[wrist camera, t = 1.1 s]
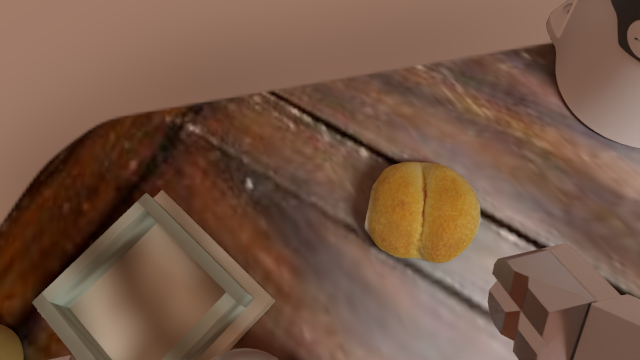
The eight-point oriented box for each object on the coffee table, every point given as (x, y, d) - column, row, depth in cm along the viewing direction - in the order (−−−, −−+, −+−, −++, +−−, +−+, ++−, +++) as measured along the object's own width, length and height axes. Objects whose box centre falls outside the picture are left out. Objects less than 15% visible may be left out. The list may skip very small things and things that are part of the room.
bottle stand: (167, 194, 52) (147, 176, 48) (275, 301, 47) (263, 290, 43) (45, 312, 49) (14, 303, 46) (146, 438, 44) (121, 439, 41)
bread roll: (474, 271, 46) (479, 258, 42) (361, 255, 48) (357, 241, 44) (482, 174, 49) (488, 154, 45) (376, 162, 51) (373, 142, 47)
